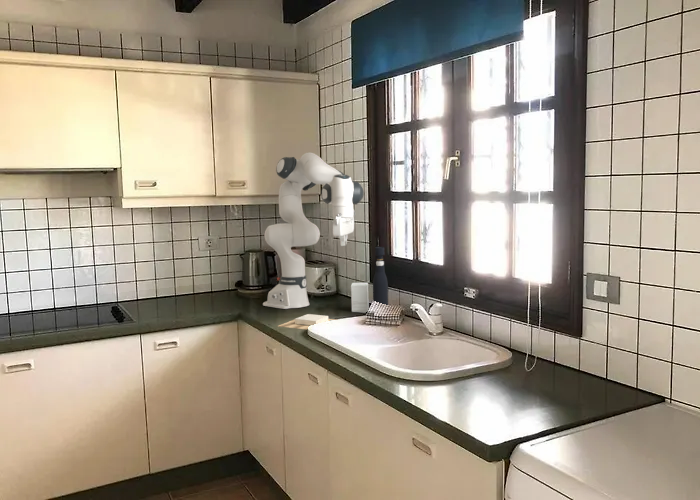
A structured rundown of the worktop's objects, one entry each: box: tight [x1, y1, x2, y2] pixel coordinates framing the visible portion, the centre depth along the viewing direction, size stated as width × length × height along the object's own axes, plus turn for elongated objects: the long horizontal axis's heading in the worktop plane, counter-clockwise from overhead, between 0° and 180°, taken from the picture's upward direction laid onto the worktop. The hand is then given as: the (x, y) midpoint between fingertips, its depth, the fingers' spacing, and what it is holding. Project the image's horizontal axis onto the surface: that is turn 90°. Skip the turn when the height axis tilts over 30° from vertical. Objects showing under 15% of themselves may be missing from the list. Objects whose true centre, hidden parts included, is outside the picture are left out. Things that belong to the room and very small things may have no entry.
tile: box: [294, 313, 329, 326], centre depth 267 cm, size 10×2×10 cm
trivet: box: [278, 318, 337, 330], centre depth 266 cm, size 20×20×1 cm
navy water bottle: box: [372, 246, 389, 306], centre depth 277 cm, size 6×6×30 cm
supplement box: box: [350, 282, 370, 314], centre depth 290 cm, size 7×7×13 cm
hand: (343, 245), depth 276 cm, fingers closed
